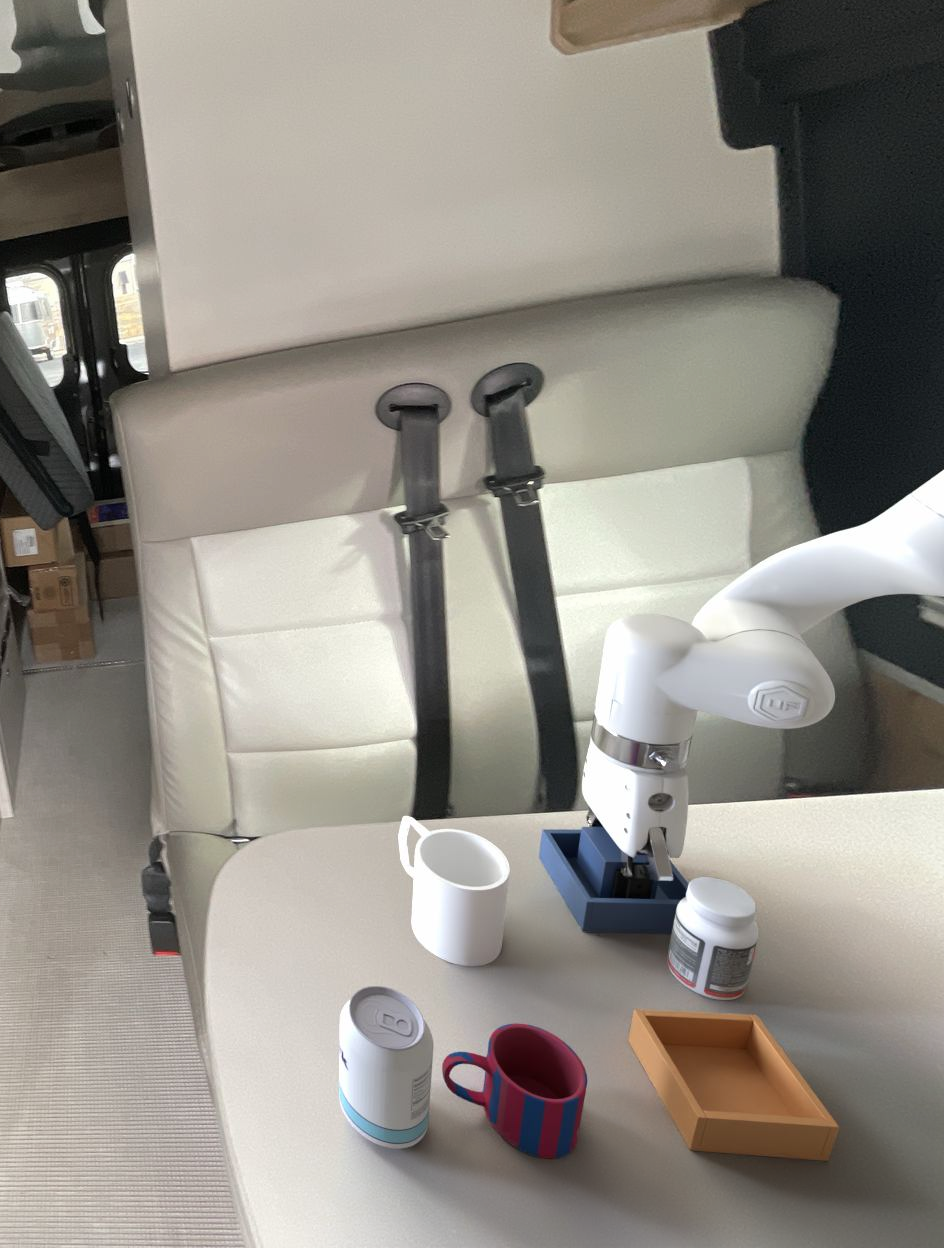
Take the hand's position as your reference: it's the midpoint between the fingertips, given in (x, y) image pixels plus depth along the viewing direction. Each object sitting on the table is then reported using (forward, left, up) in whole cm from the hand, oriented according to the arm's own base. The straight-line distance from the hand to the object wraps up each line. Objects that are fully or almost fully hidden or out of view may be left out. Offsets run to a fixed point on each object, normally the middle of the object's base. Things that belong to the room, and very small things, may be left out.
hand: (615, 877), depth 87 cm
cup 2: (+19, +24, -2) cm, 31 cm away
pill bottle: (-3, +10, -2) cm, 11 cm away
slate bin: (0, 0, -2) cm, 2 cm away
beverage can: (+29, +25, -2) cm, 38 cm away
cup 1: (+18, +4, -2) cm, 19 cm away
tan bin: (+2, +22, -2) cm, 22 cm away
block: (0, 0, 0) cm, 0 cm away
